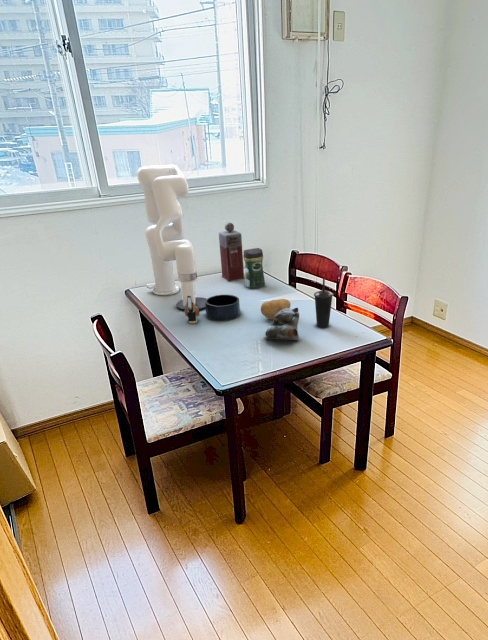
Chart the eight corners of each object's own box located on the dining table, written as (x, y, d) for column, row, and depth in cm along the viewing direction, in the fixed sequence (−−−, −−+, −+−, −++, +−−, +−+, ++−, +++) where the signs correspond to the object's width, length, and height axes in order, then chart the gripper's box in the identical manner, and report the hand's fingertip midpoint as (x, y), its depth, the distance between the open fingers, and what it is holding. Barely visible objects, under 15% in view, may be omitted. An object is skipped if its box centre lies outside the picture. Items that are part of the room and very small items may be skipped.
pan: (206, 322, 210) (204, 307, 207) (206, 309, 223) (205, 295, 219) (240, 319, 212) (239, 305, 208) (239, 307, 224) (238, 293, 221)
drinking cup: (334, 323, 206) (335, 276, 196) (329, 330, 200) (330, 282, 190) (316, 321, 208) (317, 274, 198) (311, 328, 202) (311, 280, 192)
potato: (296, 317, 212) (296, 299, 208) (268, 325, 206) (267, 307, 202) (283, 311, 219) (283, 293, 215) (256, 318, 213) (255, 300, 209)
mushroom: (185, 324, 208) (183, 307, 204) (186, 319, 213) (184, 302, 209) (200, 323, 209) (197, 306, 205) (200, 318, 214) (198, 301, 210)
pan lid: (175, 312, 220) (173, 299, 217) (177, 300, 234) (175, 288, 230) (210, 310, 222) (209, 297, 219) (210, 298, 235) (209, 286, 232)
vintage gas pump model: (230, 282, 255) (226, 226, 241) (222, 276, 264) (217, 222, 249) (246, 279, 259) (242, 224, 244) (237, 274, 267) (233, 220, 253)
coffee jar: (260, 282, 254) (258, 245, 245) (267, 286, 248) (265, 249, 239) (243, 285, 251) (240, 248, 241) (249, 289, 244) (247, 252, 235)
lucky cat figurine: (257, 338, 194) (263, 303, 193) (282, 343, 201) (288, 309, 200) (279, 340, 182) (285, 302, 181) (304, 345, 189) (310, 308, 188)
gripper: (179, 270, 208) (184, 311, 217) (176, 283, 193) (182, 326, 202) (197, 269, 208) (201, 310, 218) (196, 282, 194) (201, 325, 203)
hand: (192, 317), depth 210 cm, fingers closed on mushroom, 6 cm apart
